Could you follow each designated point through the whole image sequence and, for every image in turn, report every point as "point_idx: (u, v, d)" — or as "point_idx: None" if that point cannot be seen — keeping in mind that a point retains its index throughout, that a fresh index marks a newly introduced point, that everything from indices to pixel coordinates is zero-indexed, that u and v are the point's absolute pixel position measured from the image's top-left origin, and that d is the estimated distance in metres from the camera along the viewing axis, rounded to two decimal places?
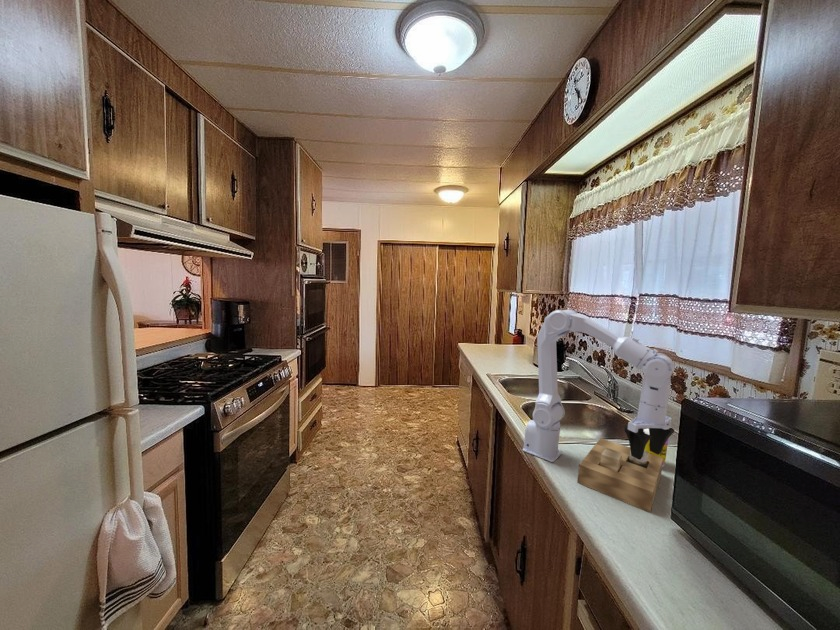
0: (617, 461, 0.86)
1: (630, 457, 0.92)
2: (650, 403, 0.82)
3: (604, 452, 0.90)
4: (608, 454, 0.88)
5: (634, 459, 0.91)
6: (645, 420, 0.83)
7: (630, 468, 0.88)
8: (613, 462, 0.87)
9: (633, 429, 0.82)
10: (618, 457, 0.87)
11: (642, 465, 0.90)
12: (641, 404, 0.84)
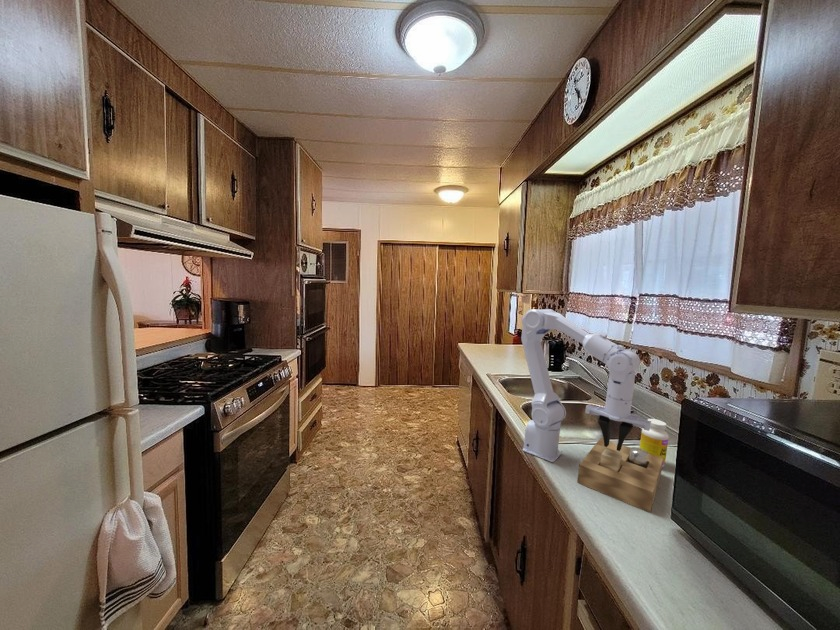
0: (617, 461, 0.86)
1: (630, 457, 0.92)
2: (614, 396, 0.85)
3: (604, 452, 0.90)
4: (608, 454, 0.88)
5: (634, 459, 0.91)
6: (604, 409, 0.89)
7: (630, 468, 0.88)
8: (613, 462, 0.87)
9: None
10: (618, 457, 0.87)
11: (642, 465, 0.90)
12: None
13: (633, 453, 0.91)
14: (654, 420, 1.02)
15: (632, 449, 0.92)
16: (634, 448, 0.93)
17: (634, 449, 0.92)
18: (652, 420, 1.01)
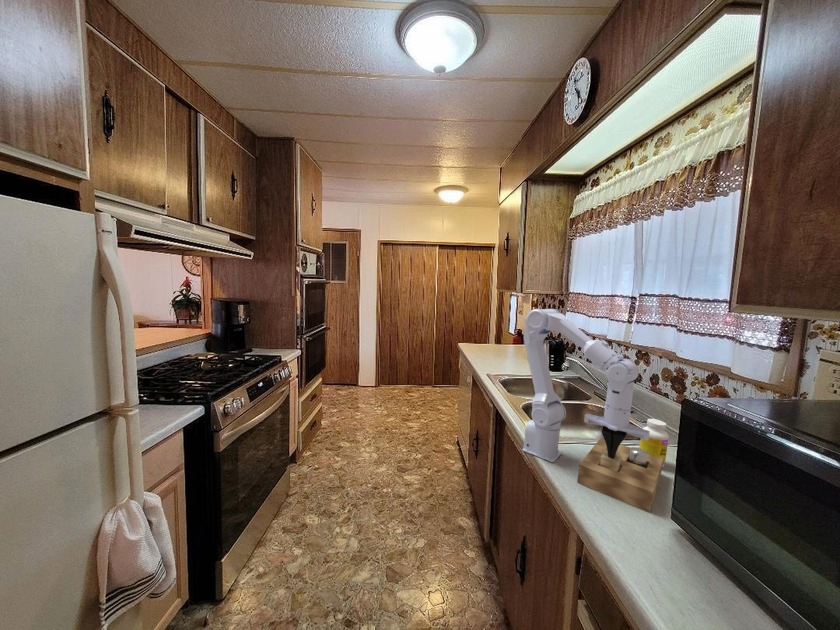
0: (617, 463, 0.86)
1: (630, 457, 0.92)
2: (612, 406, 0.86)
3: (604, 454, 0.90)
4: (608, 457, 0.88)
5: (634, 459, 0.91)
6: (603, 418, 0.89)
7: (630, 468, 0.88)
8: (612, 464, 0.87)
9: None
10: (618, 460, 0.87)
11: (642, 465, 0.90)
12: None
13: (633, 453, 0.91)
14: (654, 420, 1.02)
15: (632, 449, 0.92)
16: (634, 448, 0.93)
17: (634, 449, 0.92)
18: (652, 420, 1.01)
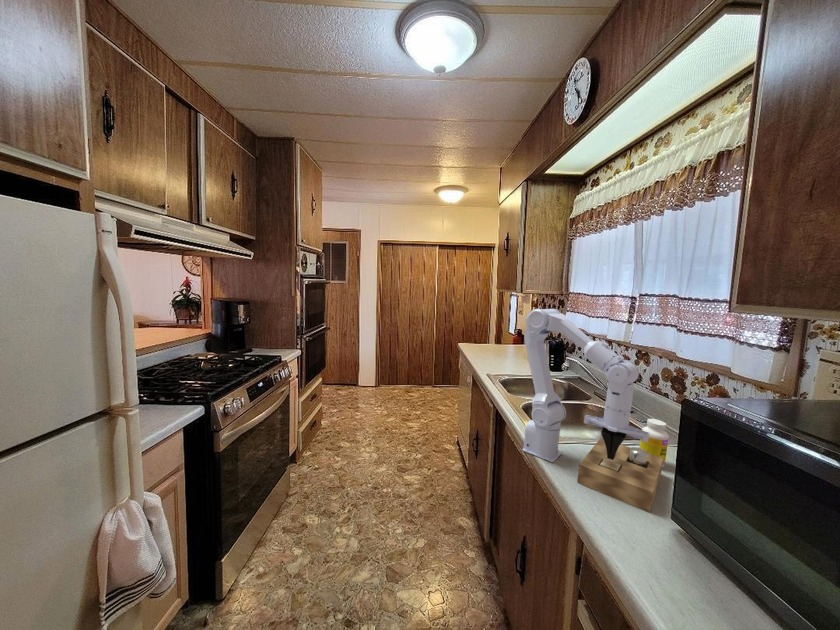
0: None
1: (630, 457, 0.92)
2: (612, 407, 0.86)
3: (603, 462, 0.90)
4: (607, 465, 0.89)
5: (634, 459, 0.91)
6: (603, 419, 0.89)
7: (630, 468, 0.88)
8: None
9: None
10: (617, 468, 0.87)
11: (642, 465, 0.90)
12: None
13: (633, 453, 0.91)
14: (654, 420, 1.02)
15: (632, 449, 0.92)
16: (634, 448, 0.93)
17: (634, 449, 0.92)
18: (652, 420, 1.01)
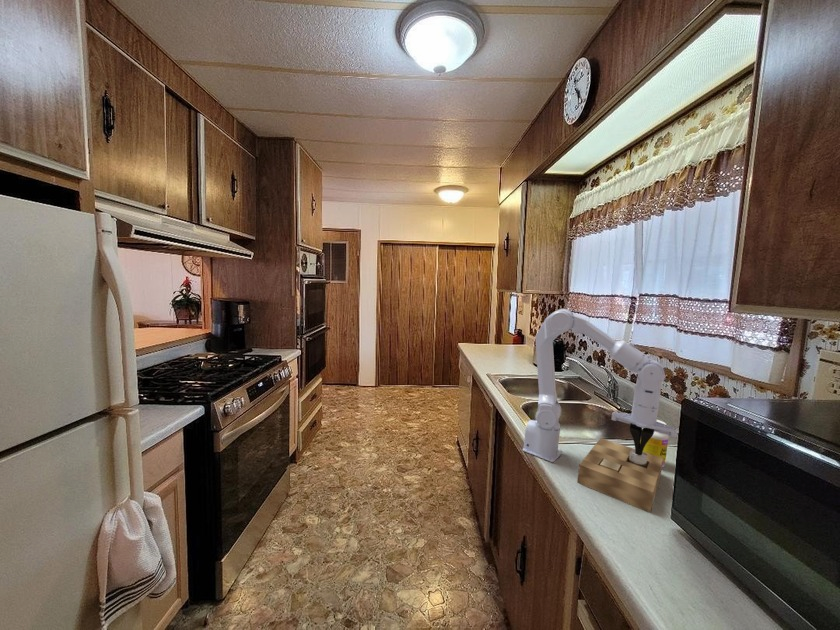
0: None
1: (630, 459, 0.92)
2: (645, 405, 0.88)
3: (603, 462, 0.90)
4: (607, 465, 0.89)
5: (634, 461, 0.91)
6: (631, 416, 0.92)
7: (630, 468, 0.88)
8: None
9: None
10: (617, 468, 0.87)
11: None
12: None
13: (633, 455, 0.91)
14: None
15: (632, 451, 0.92)
16: (634, 450, 0.93)
17: (633, 452, 0.92)
18: None
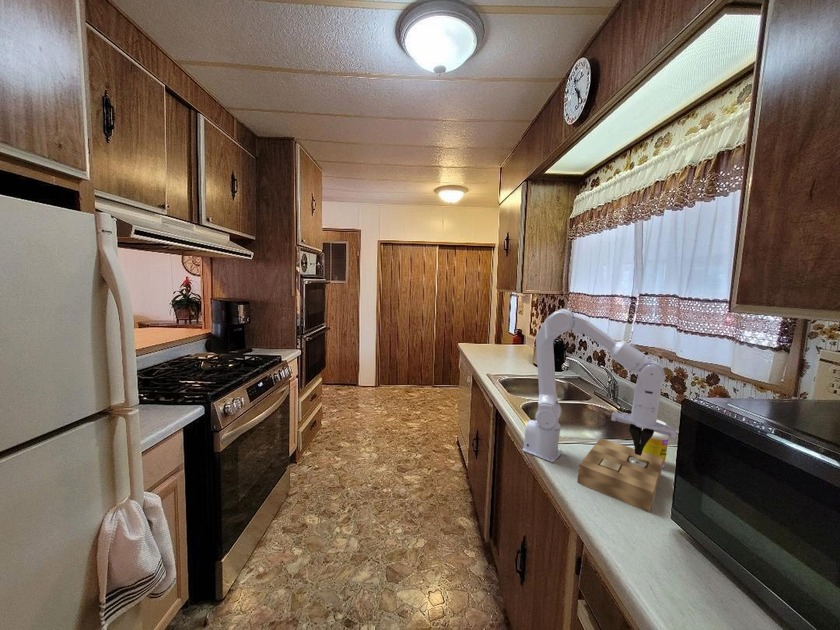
0: None
1: None
2: (645, 406, 0.88)
3: (603, 462, 0.90)
4: (607, 465, 0.89)
5: None
6: (630, 416, 0.92)
7: (630, 468, 0.88)
8: None
9: None
10: (617, 468, 0.87)
11: None
12: None
13: (632, 463, 0.91)
14: None
15: (631, 459, 0.93)
16: (633, 458, 0.93)
17: (632, 459, 0.92)
18: None
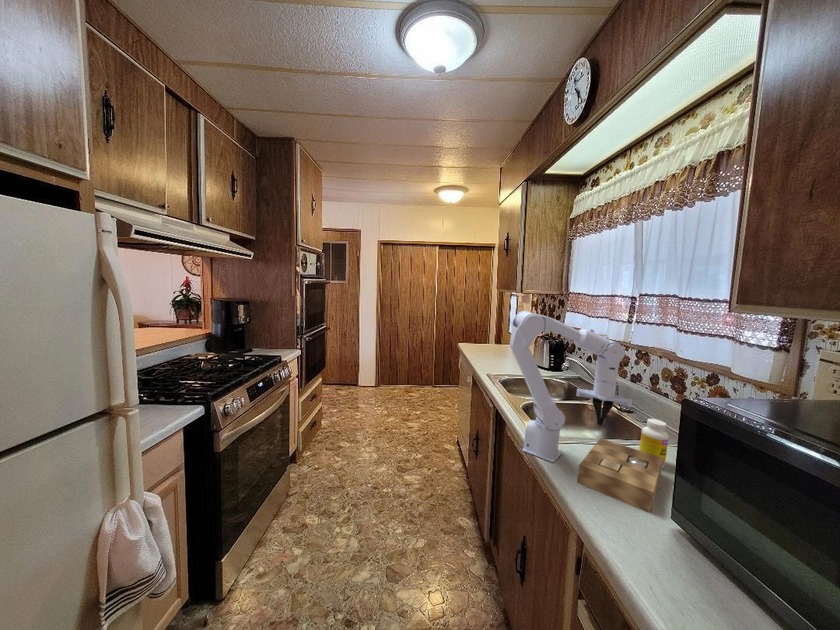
0: None
1: None
2: (609, 381, 0.98)
3: (603, 462, 0.90)
4: (607, 465, 0.89)
5: None
6: (593, 391, 1.02)
7: (630, 468, 0.88)
8: None
9: None
10: (617, 468, 0.87)
11: None
12: None
13: (632, 463, 0.91)
14: (654, 420, 1.02)
15: (631, 459, 0.93)
16: (633, 458, 0.93)
17: (632, 459, 0.92)
18: (652, 420, 1.01)
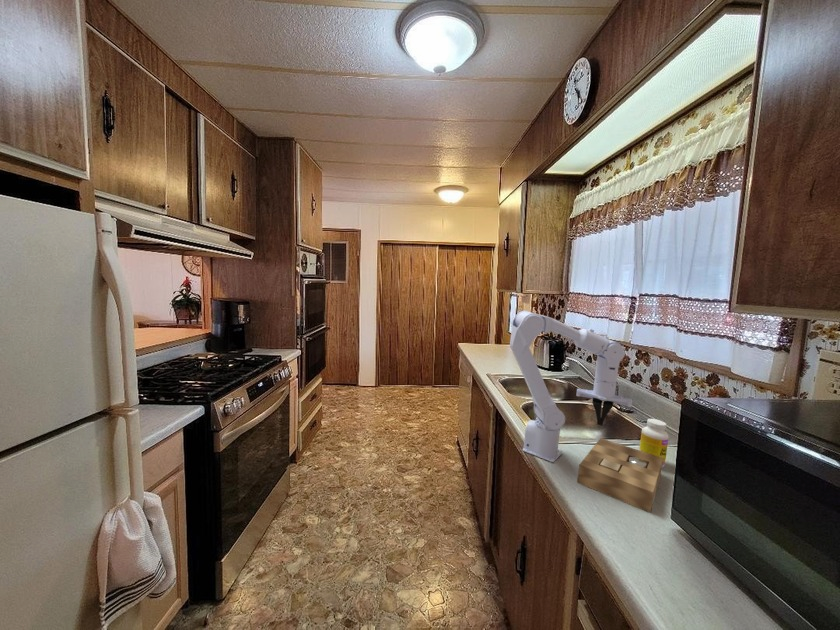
0: None
1: None
2: (609, 381, 0.98)
3: (603, 462, 0.90)
4: (607, 465, 0.89)
5: None
6: (593, 391, 1.02)
7: (630, 468, 0.88)
8: None
9: None
10: (617, 468, 0.87)
11: None
12: None
13: (632, 463, 0.91)
14: (654, 420, 1.02)
15: (631, 459, 0.93)
16: (633, 458, 0.93)
17: (632, 459, 0.92)
18: (652, 420, 1.01)
